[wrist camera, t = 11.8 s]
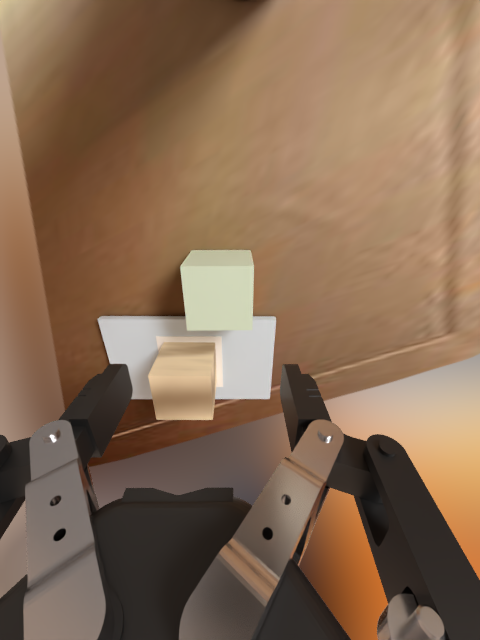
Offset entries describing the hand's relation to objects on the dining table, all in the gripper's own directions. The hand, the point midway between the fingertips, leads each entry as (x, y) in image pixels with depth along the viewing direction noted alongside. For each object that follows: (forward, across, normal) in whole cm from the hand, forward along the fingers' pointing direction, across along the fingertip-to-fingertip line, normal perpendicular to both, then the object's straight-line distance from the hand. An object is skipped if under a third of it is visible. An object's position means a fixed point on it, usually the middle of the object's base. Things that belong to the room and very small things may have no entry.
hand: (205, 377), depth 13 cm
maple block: (+15, +4, +10) cm, 19 cm away
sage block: (+16, 0, 0) cm, 16 cm away
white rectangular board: (+16, +4, +10) cm, 19 cm away
